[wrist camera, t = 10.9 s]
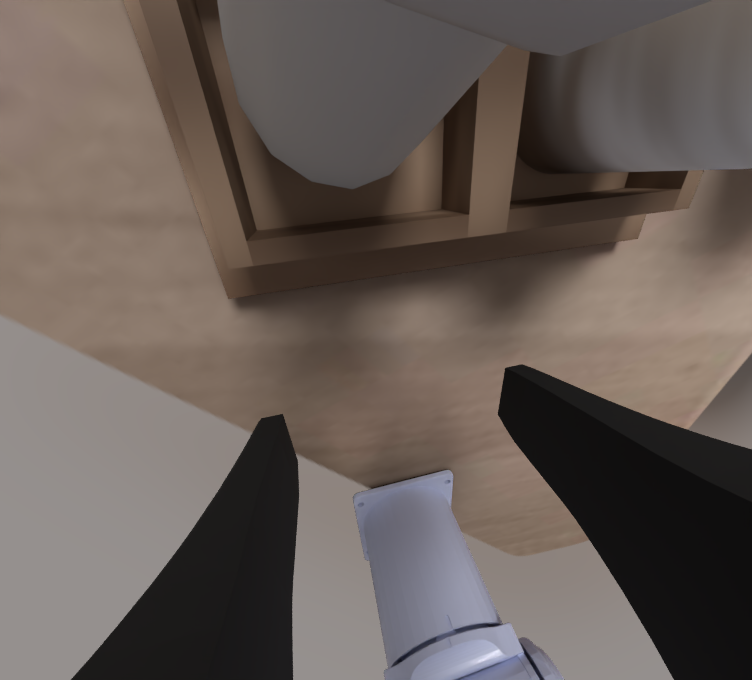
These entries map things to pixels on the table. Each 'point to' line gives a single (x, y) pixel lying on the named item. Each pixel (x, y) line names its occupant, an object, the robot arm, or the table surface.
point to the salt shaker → (389, 67)
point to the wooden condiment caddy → (463, 152)
